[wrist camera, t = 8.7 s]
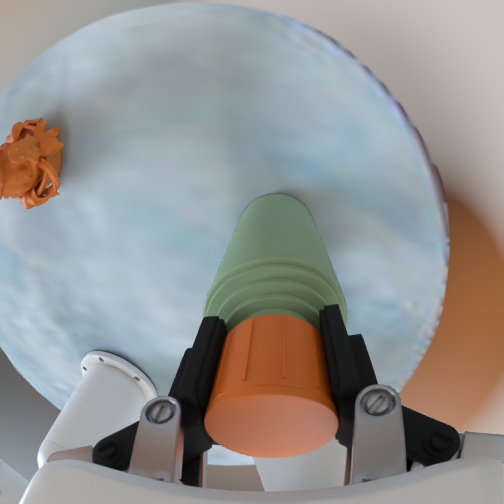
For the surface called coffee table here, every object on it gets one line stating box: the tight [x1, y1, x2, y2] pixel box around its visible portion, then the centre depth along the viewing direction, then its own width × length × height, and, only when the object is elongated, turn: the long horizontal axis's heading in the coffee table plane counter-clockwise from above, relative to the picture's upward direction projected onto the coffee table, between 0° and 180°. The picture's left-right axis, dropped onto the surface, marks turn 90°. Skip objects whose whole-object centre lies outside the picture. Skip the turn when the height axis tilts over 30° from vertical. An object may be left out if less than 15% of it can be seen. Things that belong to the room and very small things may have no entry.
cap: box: [204, 314, 339, 458], centre depth 9 cm, size 4×4×4 cm
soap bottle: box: [253, 436, 346, 492], centre depth 18 cm, size 17×12×29 cm
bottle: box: [203, 194, 347, 333], centre depth 16 cm, size 6×6×18 cm
